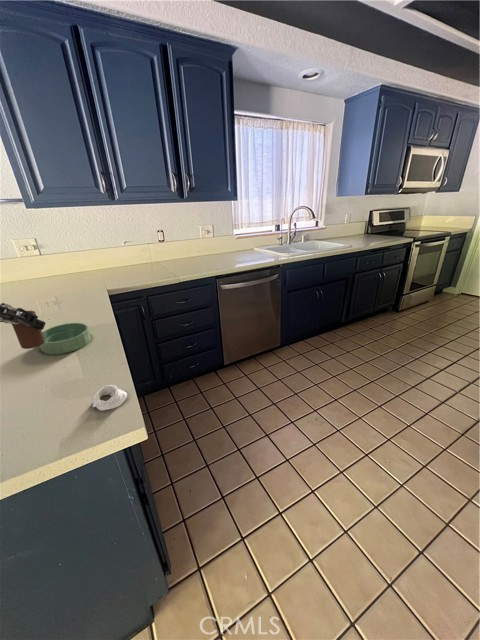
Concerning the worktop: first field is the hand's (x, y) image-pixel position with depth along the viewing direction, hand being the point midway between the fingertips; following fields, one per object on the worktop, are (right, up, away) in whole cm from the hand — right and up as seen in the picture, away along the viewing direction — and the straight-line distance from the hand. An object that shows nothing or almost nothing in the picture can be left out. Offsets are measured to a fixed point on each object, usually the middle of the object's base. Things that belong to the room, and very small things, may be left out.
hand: (33, 325), depth 70 cm
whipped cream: (+21, -20, -2) cm, 29 cm away
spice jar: (0, -5, 0) cm, 5 cm away
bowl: (-8, -7, +25) cm, 28 cm away
